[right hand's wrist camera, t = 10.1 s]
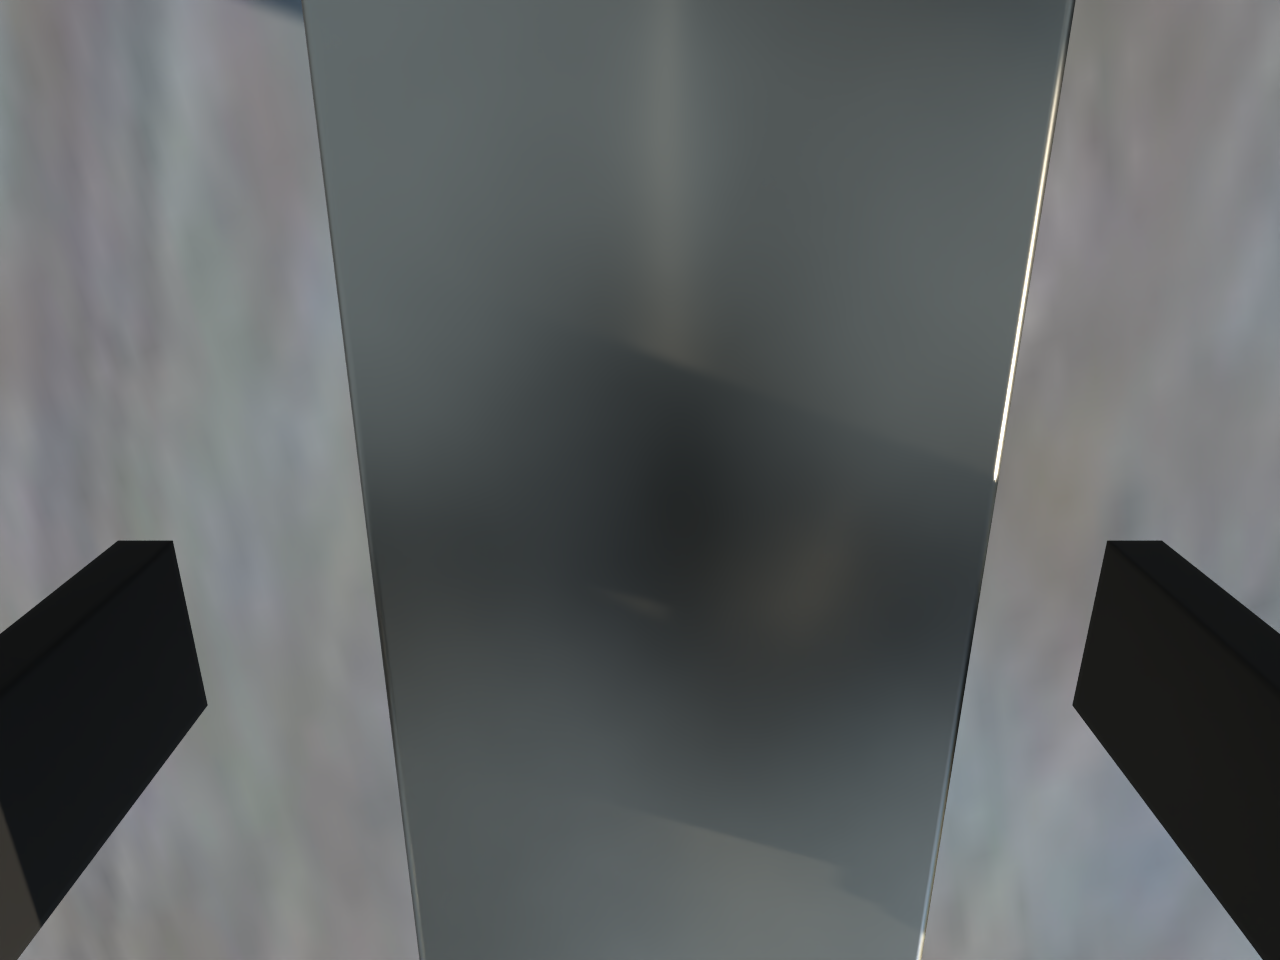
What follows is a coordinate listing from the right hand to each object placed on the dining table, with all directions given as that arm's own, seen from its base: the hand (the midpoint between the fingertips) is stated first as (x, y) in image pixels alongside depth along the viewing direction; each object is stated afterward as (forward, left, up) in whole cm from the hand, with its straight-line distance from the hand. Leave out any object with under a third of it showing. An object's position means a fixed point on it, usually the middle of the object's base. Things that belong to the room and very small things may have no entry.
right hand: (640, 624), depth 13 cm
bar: (+3, +8, -3) cm, 9 cm away
